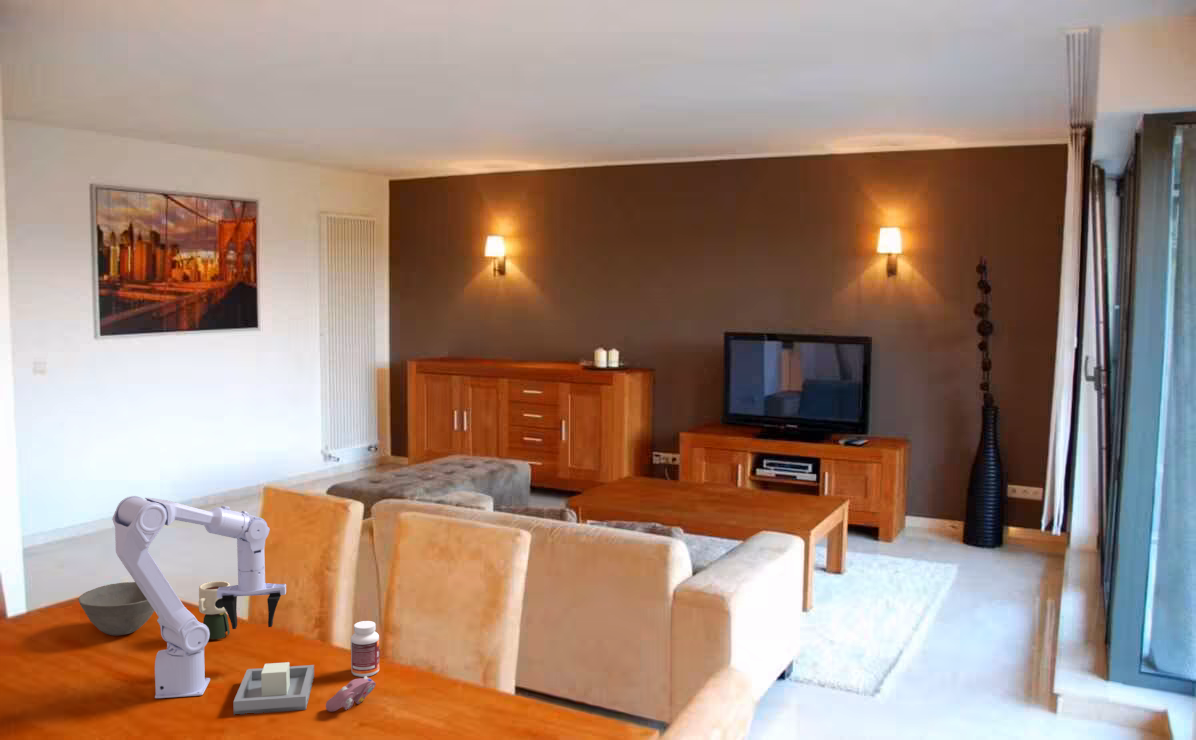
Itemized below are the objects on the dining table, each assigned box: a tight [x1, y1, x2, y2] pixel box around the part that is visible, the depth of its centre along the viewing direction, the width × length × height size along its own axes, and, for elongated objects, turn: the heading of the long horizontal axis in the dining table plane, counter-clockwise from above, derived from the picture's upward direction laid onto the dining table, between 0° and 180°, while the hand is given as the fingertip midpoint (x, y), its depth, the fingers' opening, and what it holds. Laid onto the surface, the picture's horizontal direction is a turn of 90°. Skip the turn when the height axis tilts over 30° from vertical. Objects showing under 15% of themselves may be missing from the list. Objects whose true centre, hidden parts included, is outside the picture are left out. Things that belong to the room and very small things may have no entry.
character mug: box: [198, 580, 231, 640], centre depth 229 cm, size 11×7×13 cm, turn 164°
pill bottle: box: [350, 620, 380, 678], centre depth 210 cm, size 6×6×11 cm
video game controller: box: [325, 676, 376, 713], centre depth 194 cm, size 10×5×7 cm, turn 149°
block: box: [261, 661, 291, 696], centre depth 198 cm, size 5×5×5 cm
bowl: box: [78, 581, 155, 637], centre depth 232 cm, size 19×19×10 cm
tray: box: [233, 664, 315, 716], centre depth 198 cm, size 14×16×3 cm
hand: (252, 626), depth 212 cm, fingers open, 7 cm apart
